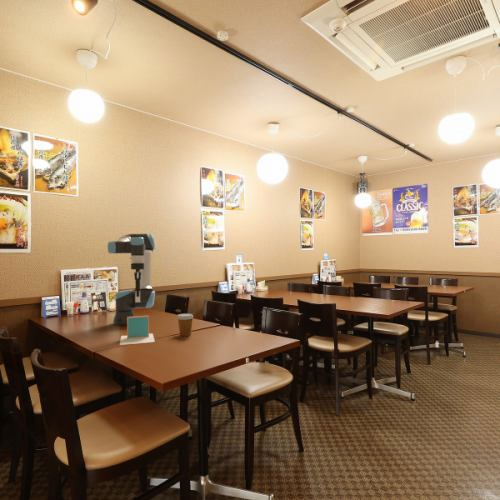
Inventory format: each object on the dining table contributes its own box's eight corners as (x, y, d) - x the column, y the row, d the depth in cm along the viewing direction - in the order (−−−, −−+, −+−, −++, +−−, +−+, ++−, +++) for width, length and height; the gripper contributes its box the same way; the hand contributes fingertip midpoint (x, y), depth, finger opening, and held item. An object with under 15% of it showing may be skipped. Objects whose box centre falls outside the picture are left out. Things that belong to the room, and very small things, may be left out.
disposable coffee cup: (190, 336, 205) (189, 316, 205) (174, 336, 207) (174, 316, 207) (195, 333, 214) (195, 313, 214) (181, 332, 216) (180, 313, 216)
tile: (127, 337, 202) (127, 316, 202) (148, 335, 206) (148, 315, 206) (127, 338, 200) (127, 317, 200) (149, 336, 204) (148, 316, 204)
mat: (121, 336, 207) (121, 335, 207) (152, 334, 212) (152, 333, 212) (119, 346, 186) (119, 344, 186) (154, 342, 191) (154, 341, 191)
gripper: (131, 262, 216) (131, 301, 216) (130, 263, 204) (131, 303, 203) (143, 262, 218) (144, 300, 218) (144, 262, 206) (144, 303, 206)
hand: (137, 302), depth 211 cm, fingers closed
